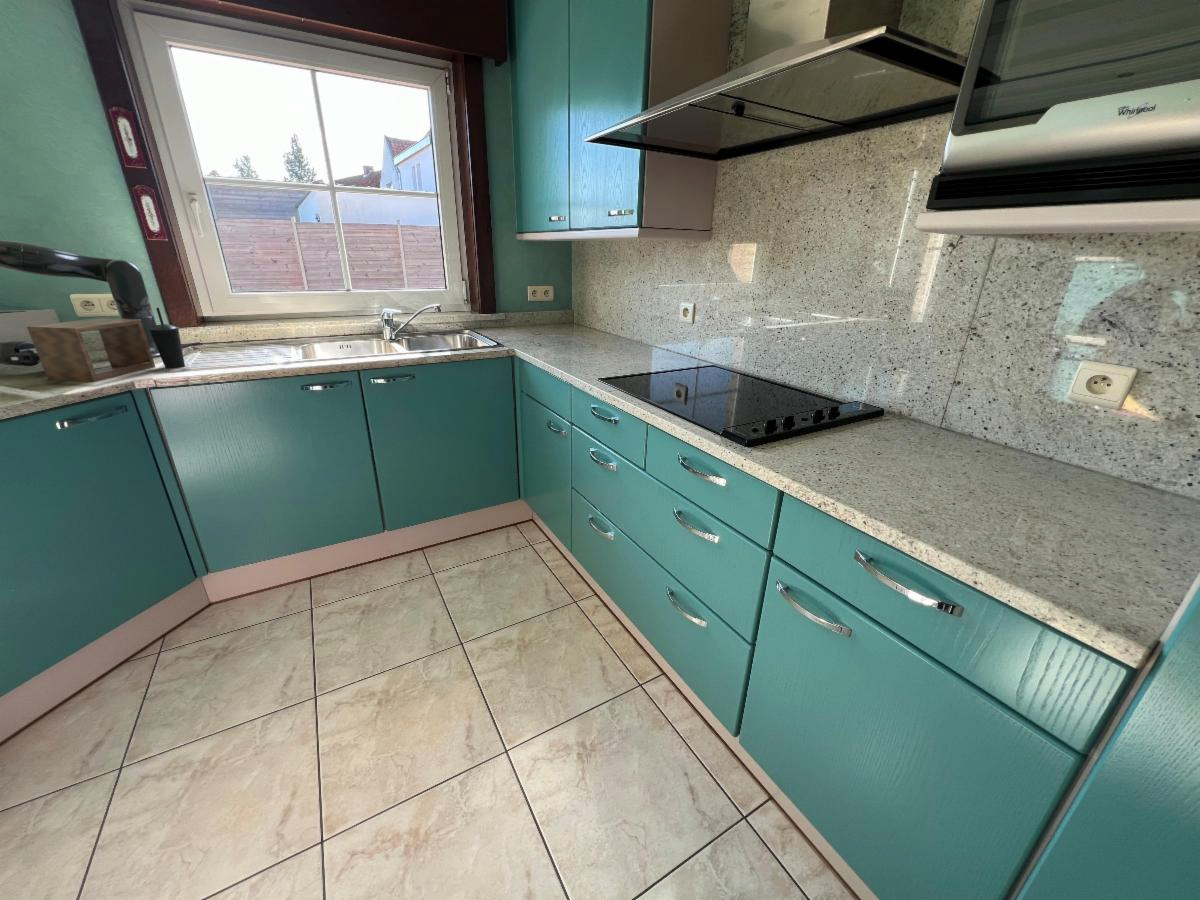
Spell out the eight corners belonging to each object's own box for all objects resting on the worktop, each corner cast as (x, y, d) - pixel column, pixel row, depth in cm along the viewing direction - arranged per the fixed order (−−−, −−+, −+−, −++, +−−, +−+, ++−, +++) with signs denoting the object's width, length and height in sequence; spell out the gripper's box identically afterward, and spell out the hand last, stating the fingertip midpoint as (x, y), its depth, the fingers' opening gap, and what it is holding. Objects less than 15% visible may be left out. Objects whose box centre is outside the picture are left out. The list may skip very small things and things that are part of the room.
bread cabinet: (49, 383, 143) (26, 326, 137) (115, 369, 161) (98, 318, 155) (95, 385, 142) (74, 328, 136) (156, 370, 161) (140, 319, 155)
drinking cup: (174, 367, 165) (156, 306, 158) (196, 368, 165) (179, 306, 158) (154, 372, 158) (134, 308, 151) (177, 373, 158) (158, 309, 151)
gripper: (-20, 344, 142) (36, 347, 142) (36, 337, 155) (87, 339, 155) (-9, 370, 145) (46, 373, 144) (45, 360, 158) (95, 363, 158)
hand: (67, 355), depth 150 cm, fingers closed on bottle, 5 cm apart
